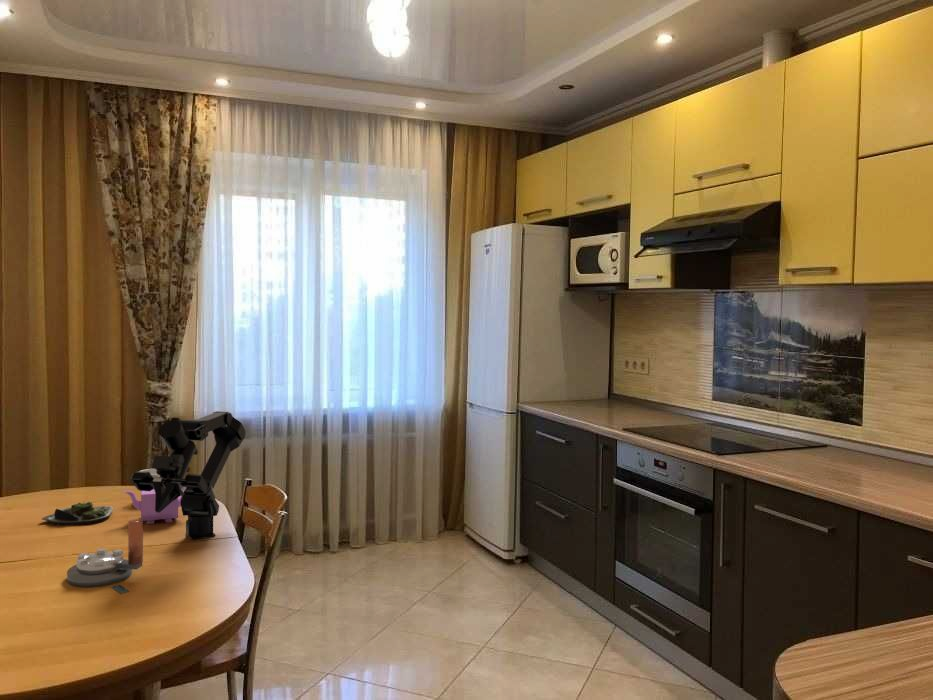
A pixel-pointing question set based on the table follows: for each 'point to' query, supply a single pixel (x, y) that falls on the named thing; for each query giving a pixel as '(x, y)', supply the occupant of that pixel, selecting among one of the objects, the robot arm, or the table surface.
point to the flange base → (98, 578)
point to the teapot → (149, 507)
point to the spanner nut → (115, 554)
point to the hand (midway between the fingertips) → (157, 511)
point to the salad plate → (79, 514)
